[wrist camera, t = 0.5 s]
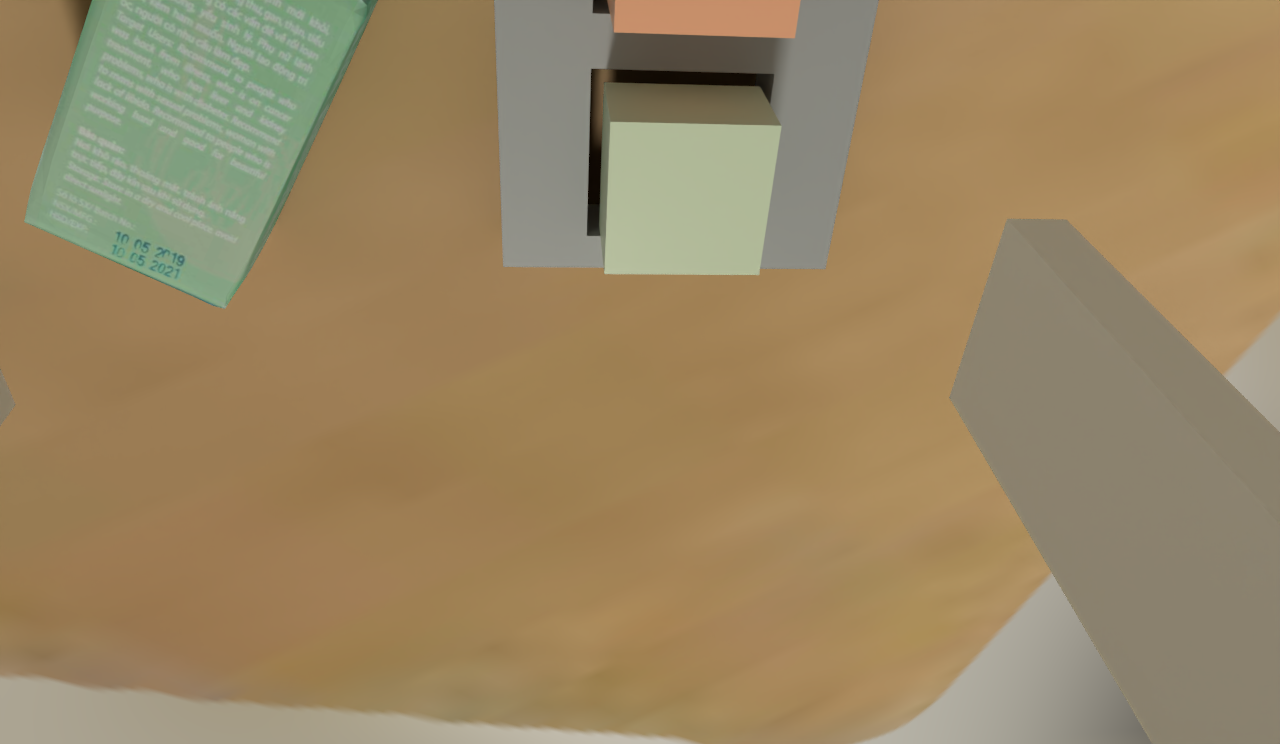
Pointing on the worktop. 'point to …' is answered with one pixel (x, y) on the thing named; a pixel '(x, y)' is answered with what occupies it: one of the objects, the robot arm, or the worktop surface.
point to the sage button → (685, 178)
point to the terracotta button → (706, 17)
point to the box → (190, 131)
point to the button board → (584, 39)
